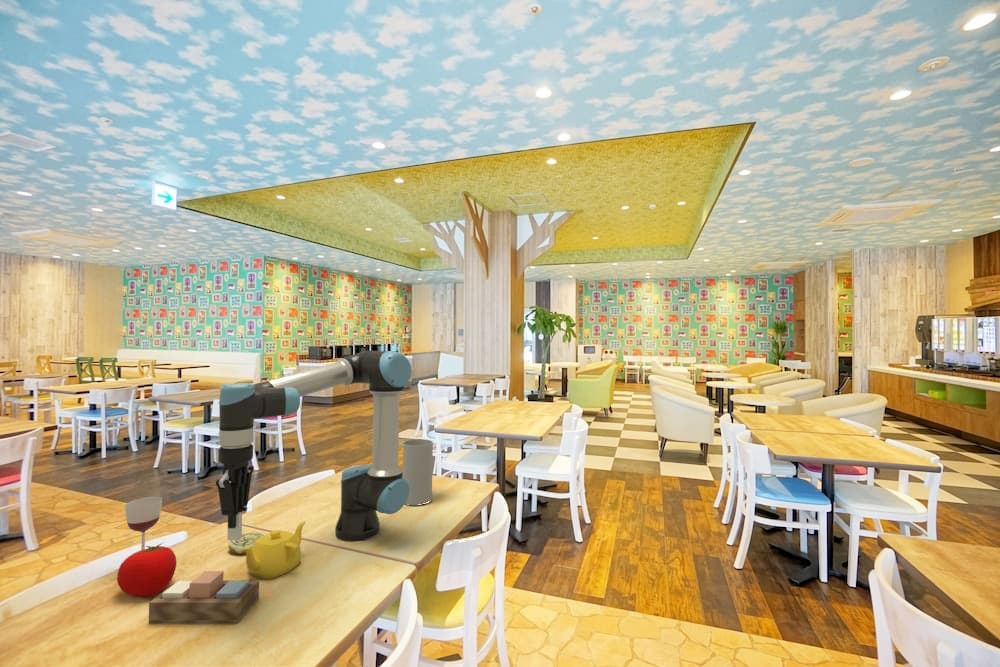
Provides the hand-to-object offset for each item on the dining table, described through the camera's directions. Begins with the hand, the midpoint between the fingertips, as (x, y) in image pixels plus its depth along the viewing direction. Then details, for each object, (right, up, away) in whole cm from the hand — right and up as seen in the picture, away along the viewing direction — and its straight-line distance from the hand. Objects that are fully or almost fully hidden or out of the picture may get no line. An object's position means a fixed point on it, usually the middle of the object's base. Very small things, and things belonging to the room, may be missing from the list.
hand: (234, 538), depth 113 cm
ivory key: (-13, -17, -1) cm, 21 cm away
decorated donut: (-16, -19, +33) cm, 41 cm away
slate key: (0, -17, 0) cm, 17 cm away
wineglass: (-38, -18, +19) cm, 46 cm away
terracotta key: (-7, -14, 0) cm, 16 cm away
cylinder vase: (+32, -20, +78) cm, 87 cm away
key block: (-7, -18, -1) cm, 19 cm away
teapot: (+1, -19, +21) cm, 28 cm away
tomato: (-28, -18, +8) cm, 34 cm away
